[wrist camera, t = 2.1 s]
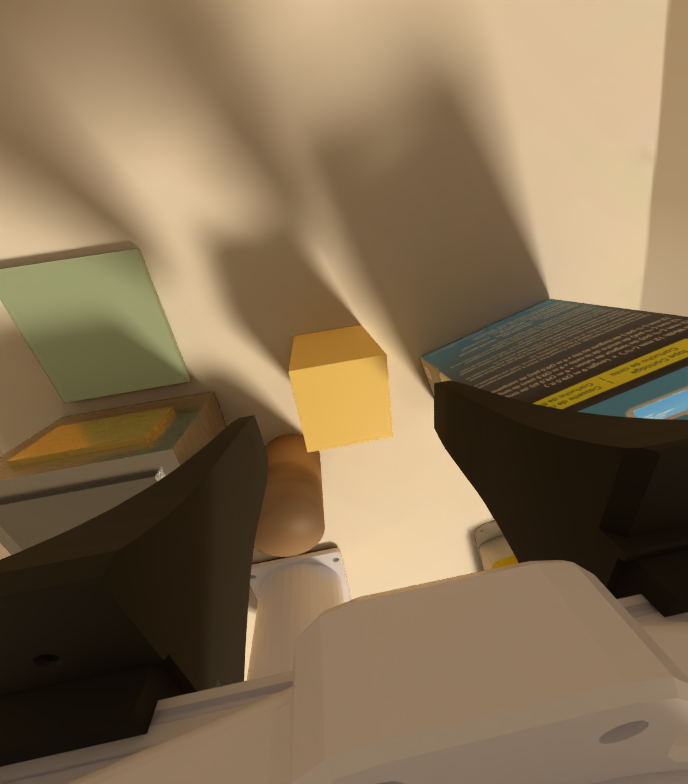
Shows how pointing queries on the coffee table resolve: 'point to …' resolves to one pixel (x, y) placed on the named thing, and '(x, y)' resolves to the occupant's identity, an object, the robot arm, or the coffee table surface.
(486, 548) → the emergency button
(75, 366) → the pad
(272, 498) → the walnut cylinder
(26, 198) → the coffee table surface
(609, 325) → the label tape box
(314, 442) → the ochre block
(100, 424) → the box
